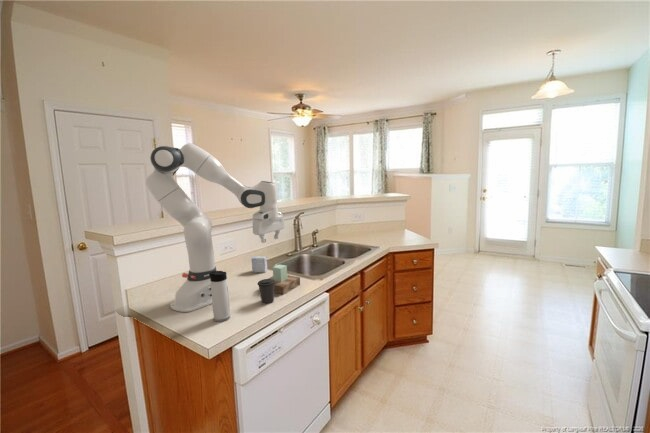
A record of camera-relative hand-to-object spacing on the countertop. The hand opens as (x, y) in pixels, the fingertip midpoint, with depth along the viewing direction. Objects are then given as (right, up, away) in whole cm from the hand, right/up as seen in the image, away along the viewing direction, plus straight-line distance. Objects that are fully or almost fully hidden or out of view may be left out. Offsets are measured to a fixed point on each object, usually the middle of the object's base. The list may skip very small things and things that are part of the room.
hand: (270, 240), depth 152 cm
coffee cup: (+2, -27, -16) cm, 31 cm away
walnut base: (+5, -24, +1) cm, 24 cm away
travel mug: (-14, -29, -30) cm, 45 cm away
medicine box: (-11, -21, +26) cm, 35 cm away
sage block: (+5, -20, 0) cm, 20 cm away
